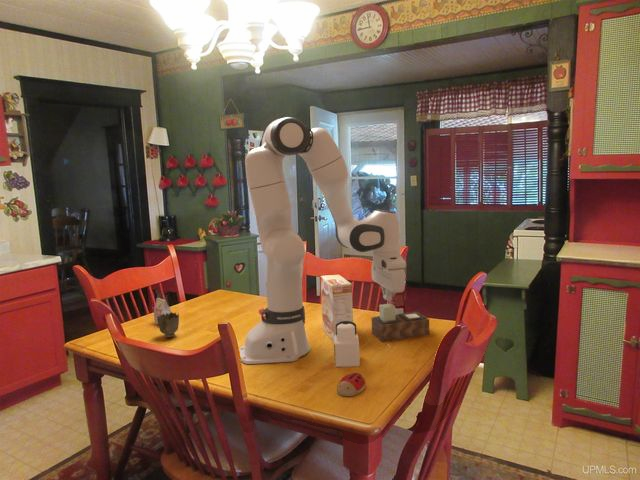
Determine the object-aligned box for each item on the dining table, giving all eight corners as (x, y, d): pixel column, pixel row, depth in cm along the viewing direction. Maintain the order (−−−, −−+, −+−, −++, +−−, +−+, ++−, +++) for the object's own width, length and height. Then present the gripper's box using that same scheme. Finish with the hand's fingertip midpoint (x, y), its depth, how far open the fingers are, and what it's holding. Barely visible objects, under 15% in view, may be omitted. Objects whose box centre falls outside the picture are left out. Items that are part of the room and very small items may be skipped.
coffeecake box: (322, 329, 171) (319, 275, 168) (341, 327, 173) (339, 273, 170) (333, 343, 157) (331, 285, 154) (354, 341, 158) (352, 283, 155)
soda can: (405, 318, 179) (405, 287, 177) (387, 318, 180) (386, 287, 178) (405, 313, 185) (405, 282, 183) (388, 312, 187) (387, 282, 185)
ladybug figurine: (331, 395, 122) (331, 382, 121) (348, 379, 130) (347, 367, 130) (355, 400, 119) (355, 387, 118) (371, 384, 127) (370, 371, 127)
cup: (154, 337, 169) (152, 316, 168) (173, 332, 174) (171, 310, 173) (165, 342, 164) (163, 319, 163) (184, 336, 169) (182, 314, 168)
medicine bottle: (334, 357, 145) (333, 319, 143) (358, 357, 145) (357, 318, 143) (334, 367, 138) (333, 327, 136) (359, 366, 138) (358, 326, 136)
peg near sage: (384, 324, 159) (383, 308, 158) (379, 321, 162) (379, 304, 161) (395, 323, 159) (395, 306, 159) (390, 319, 163) (390, 303, 162)
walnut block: (381, 341, 156) (381, 324, 155) (371, 333, 165) (371, 316, 164) (429, 335, 160) (429, 318, 160) (417, 327, 169) (417, 310, 168)
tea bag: (163, 321, 187) (161, 296, 186) (172, 325, 183) (170, 299, 181) (154, 323, 185) (152, 298, 183) (163, 327, 180) (160, 301, 179)
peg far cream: (409, 334, 161) (409, 318, 161) (404, 330, 165) (404, 314, 164) (420, 333, 162) (420, 316, 162) (415, 329, 166) (415, 313, 165)
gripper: (366, 254, 167) (367, 293, 169) (389, 265, 147) (390, 308, 149) (383, 252, 168) (384, 291, 171) (408, 263, 149) (409, 306, 151)
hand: (387, 299), depth 160 cm, fingers closed
